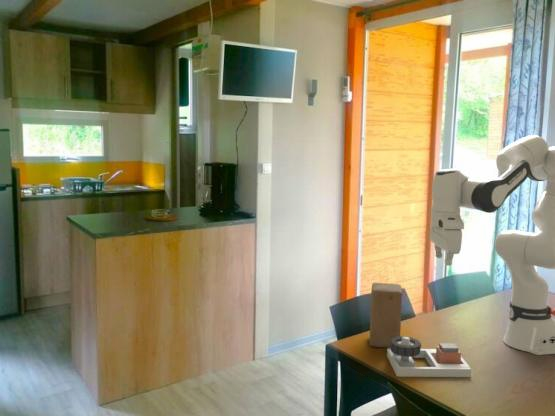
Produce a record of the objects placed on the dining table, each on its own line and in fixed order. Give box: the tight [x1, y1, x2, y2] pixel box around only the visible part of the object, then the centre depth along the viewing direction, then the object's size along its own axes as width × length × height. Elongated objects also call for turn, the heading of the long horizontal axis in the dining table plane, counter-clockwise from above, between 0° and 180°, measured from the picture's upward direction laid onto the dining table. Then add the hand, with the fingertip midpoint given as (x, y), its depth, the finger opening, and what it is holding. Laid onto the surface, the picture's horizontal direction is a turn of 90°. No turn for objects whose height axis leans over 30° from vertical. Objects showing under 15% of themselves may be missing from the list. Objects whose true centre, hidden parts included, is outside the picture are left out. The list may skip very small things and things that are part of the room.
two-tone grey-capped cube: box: [435, 342, 462, 364], centre depth 162 cm, size 6×5×6 cm
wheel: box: [389, 335, 422, 357], centre depth 162 cm, size 9×9×3 cm
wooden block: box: [369, 282, 403, 349], centre depth 179 cm, size 10×10×20 cm
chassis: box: [386, 336, 472, 378], centre depth 162 cm, size 22×14×9 cm, turn 90°
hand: (443, 261), depth 170 cm, fingers open, 8 cm apart
